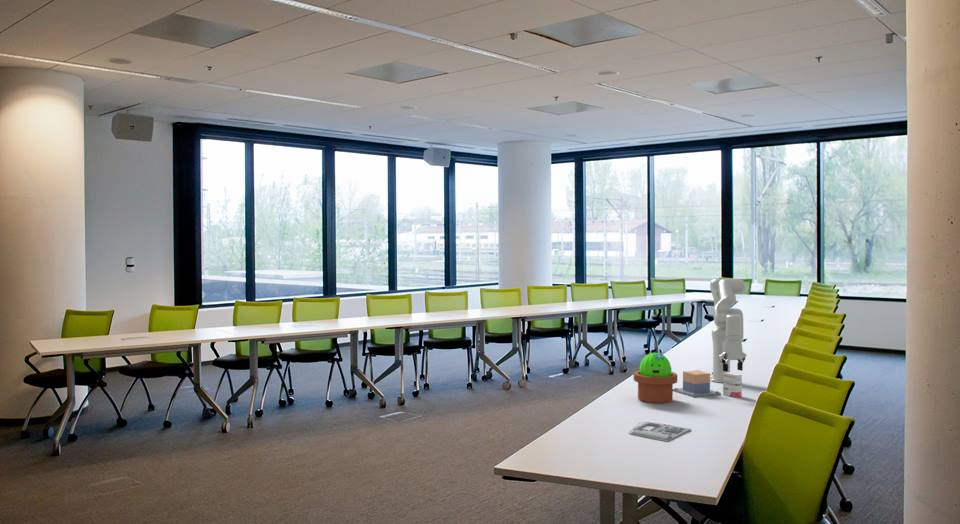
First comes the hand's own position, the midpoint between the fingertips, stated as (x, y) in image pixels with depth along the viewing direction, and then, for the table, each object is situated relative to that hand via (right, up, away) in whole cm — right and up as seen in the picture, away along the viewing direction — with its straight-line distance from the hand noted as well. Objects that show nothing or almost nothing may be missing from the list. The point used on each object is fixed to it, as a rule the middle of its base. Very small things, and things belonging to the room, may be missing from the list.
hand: (732, 370), depth 386 cm
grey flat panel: (-57, -16, -72) cm, 94 cm away
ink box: (0, -14, +1) cm, 14 cm away
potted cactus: (-43, -14, -9) cm, 46 cm away
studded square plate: (-17, -13, +8) cm, 23 cm away
